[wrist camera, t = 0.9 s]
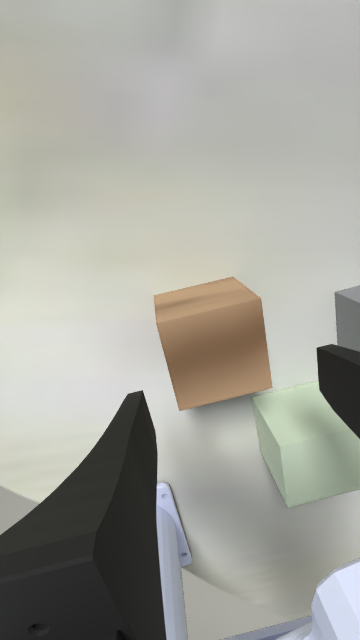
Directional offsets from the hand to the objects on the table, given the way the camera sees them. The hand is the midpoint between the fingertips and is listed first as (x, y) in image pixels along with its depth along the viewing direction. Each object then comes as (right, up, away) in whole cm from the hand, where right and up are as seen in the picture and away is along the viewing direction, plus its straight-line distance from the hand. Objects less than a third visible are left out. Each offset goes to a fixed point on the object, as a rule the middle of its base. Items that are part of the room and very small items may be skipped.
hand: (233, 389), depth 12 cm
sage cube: (+6, -4, +11) cm, 13 cm away
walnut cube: (-1, +3, +7) cm, 8 cm away
